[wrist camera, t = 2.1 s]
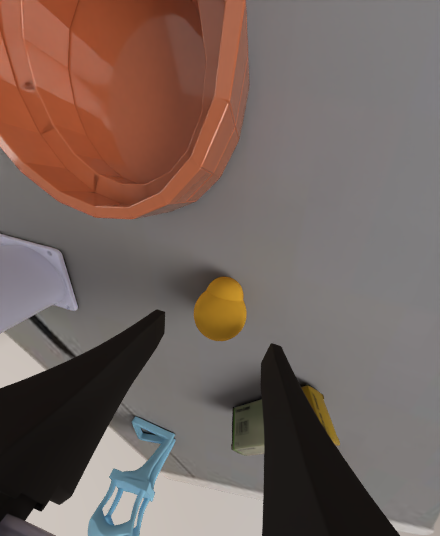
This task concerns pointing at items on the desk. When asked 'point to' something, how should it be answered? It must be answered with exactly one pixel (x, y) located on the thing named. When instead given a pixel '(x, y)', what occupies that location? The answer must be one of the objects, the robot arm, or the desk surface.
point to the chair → (133, 484)
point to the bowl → (122, 99)
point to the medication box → (252, 426)
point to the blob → (220, 310)
